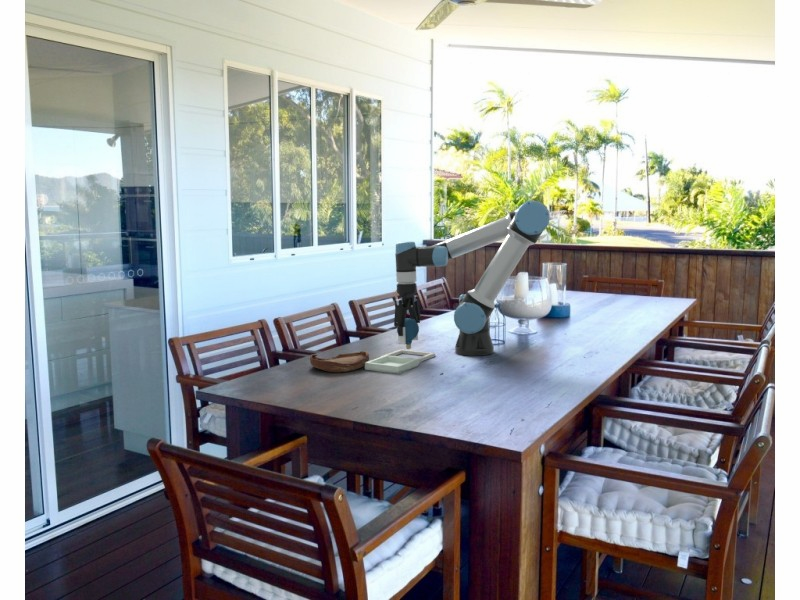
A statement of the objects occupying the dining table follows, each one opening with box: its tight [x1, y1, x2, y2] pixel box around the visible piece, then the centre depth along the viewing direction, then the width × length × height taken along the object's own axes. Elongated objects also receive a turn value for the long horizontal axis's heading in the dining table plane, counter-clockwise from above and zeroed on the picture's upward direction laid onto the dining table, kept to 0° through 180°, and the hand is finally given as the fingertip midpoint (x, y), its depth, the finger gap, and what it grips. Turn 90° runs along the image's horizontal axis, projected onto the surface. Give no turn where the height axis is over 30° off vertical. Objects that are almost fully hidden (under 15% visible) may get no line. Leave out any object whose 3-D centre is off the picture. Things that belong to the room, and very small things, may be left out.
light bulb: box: [396, 317, 420, 350], centre depth 264 cm, size 8×8×12 cm
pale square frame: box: [378, 349, 436, 363], centre depth 266 cm, size 16×16×1 cm
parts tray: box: [364, 354, 420, 375], centre depth 250 cm, size 14×14×2 cm
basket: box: [309, 350, 370, 373], centre depth 253 cm, size 22×20×5 cm
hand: (408, 342), depth 265 cm, fingers closed on light bulb, 8 cm apart
